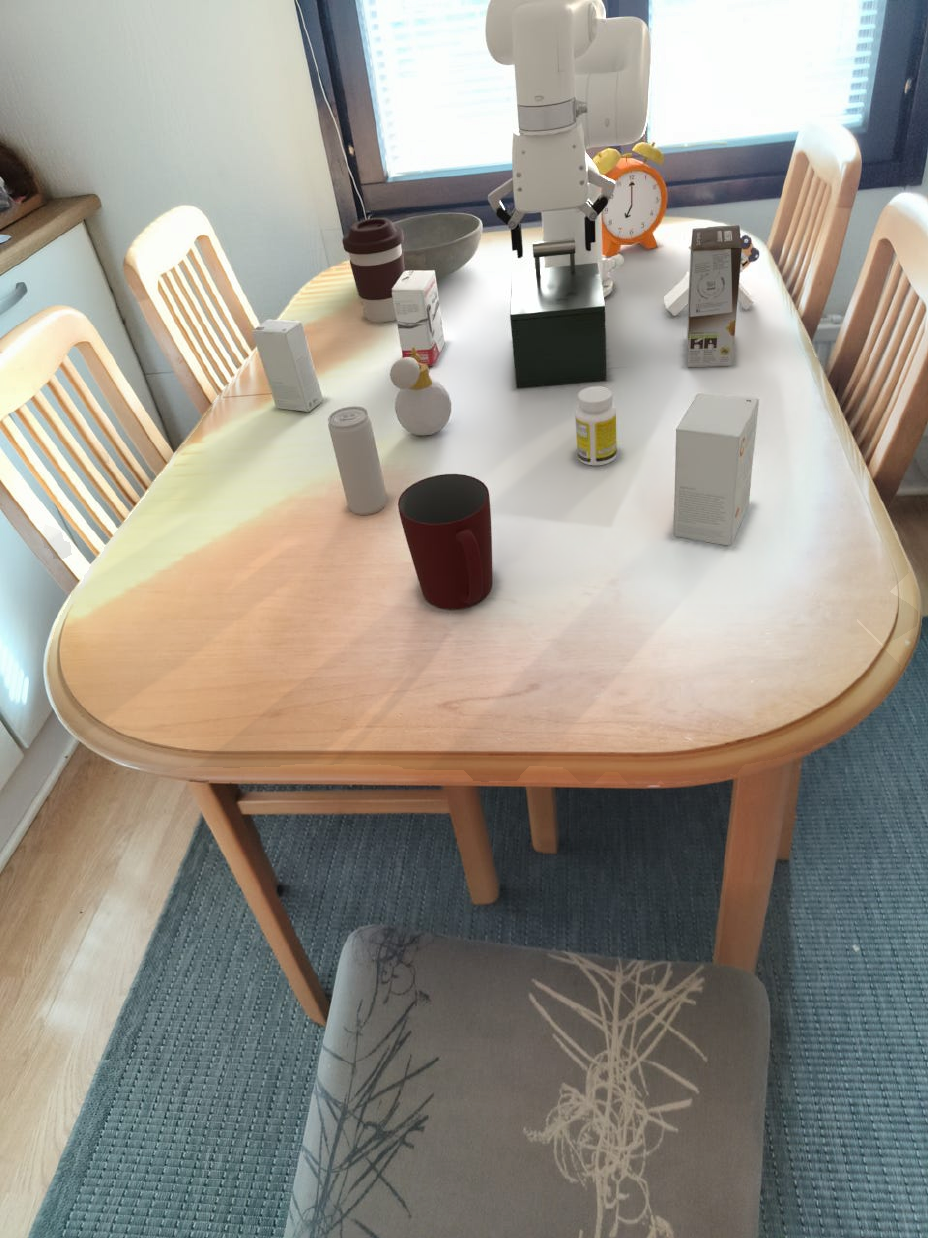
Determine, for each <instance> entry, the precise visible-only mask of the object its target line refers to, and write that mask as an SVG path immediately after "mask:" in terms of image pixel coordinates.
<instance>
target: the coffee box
mask: <svg viewBox="0 0 928 1238" xmlns="http://www.w3.org/2000/svg"><path fill="white" fill-rule="evenodd" d="M691 230H692V240H691V250H690V258H689V270H690V276H689V298H688V304H687V324H686V325H687V326H686V327H687V329H686V331H687V332H686V367H687V368H701V367H703V368H704V367H705V368H706V367H730V366H732V365H733V359H734V350H735V338H736V325H737V314H738V303H739V302H738V291H739V283H740V277H741V273H740V266H741V254H742V243H741V236H742V235H741V228H740V225H739V224H738V225H736V224H735V225H716V226H707V227H701V228H700V227H697V228H692V229H691Z"/></svg>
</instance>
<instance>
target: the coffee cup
mask: <svg viewBox="0 0 928 1238" xmlns="http://www.w3.org/2000/svg"><path fill="white" fill-rule="evenodd" d="M392 223H393V221H391V220H390V219H389V218H386V217H373V218H367V219H363V220H359V221H357V222H355V223H353V224H352V225H350V226H349V230H348V233H346V234H345V235H343V237H342V241H341V242H342V246H343V250H344V251H345V252H346V253H348V256H349V265H350V269H351V272H352V276H353V280H354V283H355V287H356V292H357V295H358V296H359V298H360V302H361V305H362V309H363V313H364V316H365V318H366V320H367V321H370V322H371V323H376V324H383V323H390V322H394V321H397V320H396V314H395V308H394V302H393V297H392V291H393V290H392V288H393V287H394V285H395V284H396V282H397V281H398V279H399V278H400V276H401V275H402V274H403V272H404V271H405V267H404V257H403V252H402V250H401V243H402V242H403V241H404V236H403V230H402V229H401V228H400V227H398V226H394V225H393V224H392Z"/></svg>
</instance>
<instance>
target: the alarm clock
mask: <svg viewBox="0 0 928 1238" xmlns="http://www.w3.org/2000/svg"><path fill="white" fill-rule="evenodd" d="M645 137H646V136H645V134H643V142H642V141H641V142H638V143H637V144H635V146H634V147H633V148H632V149H631V150H632V151H633V152H635V153H637V154H638V155H640V156H643V157H644V160H643V161H640V160H639V159H636V158H633V153H632V152H628V153H622V154H621V153H620V152H619V151H618V150H617V149H615V148H610V146H607V148H606V149H603V150H602V151H599V152H597V155H596V156H594V157H593V159H591V160H592V161H593V163H594V164H595V166H596V168H597V169H598V172H599V174H600V175H603V176H605V177H607V178H610V179H612V180H614V182H615V188H614V191H613V193H612V195H611V197H610V199H609V201H608V204H607V206H606V207H605V208H604V209H603V210H602V255H605V256H606V257H607V258H610V257H613V256H615V255H617V254H619V251H620V249H621V247H622V246H631V245H635V244H638V243H639V244H640V245H642V246H643V247H644V248H646V250H650V249H654V248H658V247H659V245H658V243H657V241H656V238H655V236H654V232H655V231H656V230H657V229H658V227H659V226H660V225H661V224H662V222H663V219H664V216H665V214H666V212H667V205H668V198H669V197H668V189H667V185H666V183H665V181H664V178H663V177H662V175H661V174H660V173H659V172H658V171H657V170H656V169H655V168H653V167H651V165H648V164H647V162H648V160H650V161H653V162H654V163H657V164H659V165H663V162H664V153H663V152H662V150H660V149H659V148H657V147H654V146H655V145H656V142H655V141H652V142H651V143H650V142H648V141H646V138H645ZM602 190H603V189H602V188H601V193H602Z"/></svg>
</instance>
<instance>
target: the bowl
mask: <svg viewBox="0 0 928 1238" xmlns="http://www.w3.org/2000/svg"><path fill="white" fill-rule="evenodd" d="M392 224H393V225H394V226H398V227H400V228H401V229H402V230H403V236H404V241H403V242H402V243H401V250H402V252H403V257H404V267H405V271H430V270H435V276H436V280H437V279H440V278H443V277H446V276H448V275H451V274H452V273H454V272H456V271H458V270H460V269H461V268H462V267H464V266H465V265H466V264H467V263H468V262H469V261H470V260H472V258H473V257H474V255H475V254H476V252H477V251H478V249H479V246H480V242H481V240H482V235H483V230H484V229H483V221H482V220H481V219H480V218H479V217H478V216H476V215H473V214H470V213H466V212H465V213H464V212H437V213H429V214H422V215H417V216H416V215H415V216H411V217H407V218H403V219H400V220H397V221H394V222H392Z"/></svg>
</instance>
